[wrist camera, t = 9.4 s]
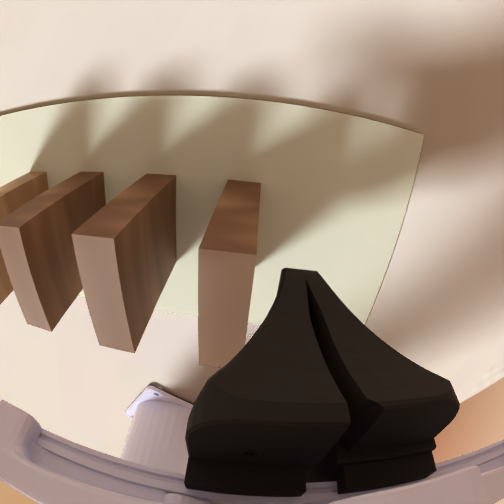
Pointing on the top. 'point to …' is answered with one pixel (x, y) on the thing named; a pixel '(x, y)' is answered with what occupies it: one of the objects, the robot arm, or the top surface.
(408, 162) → the sage mat
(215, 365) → the domino
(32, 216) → the domino
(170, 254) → the domino
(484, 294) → the top surface
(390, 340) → the top surface
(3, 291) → the domino
